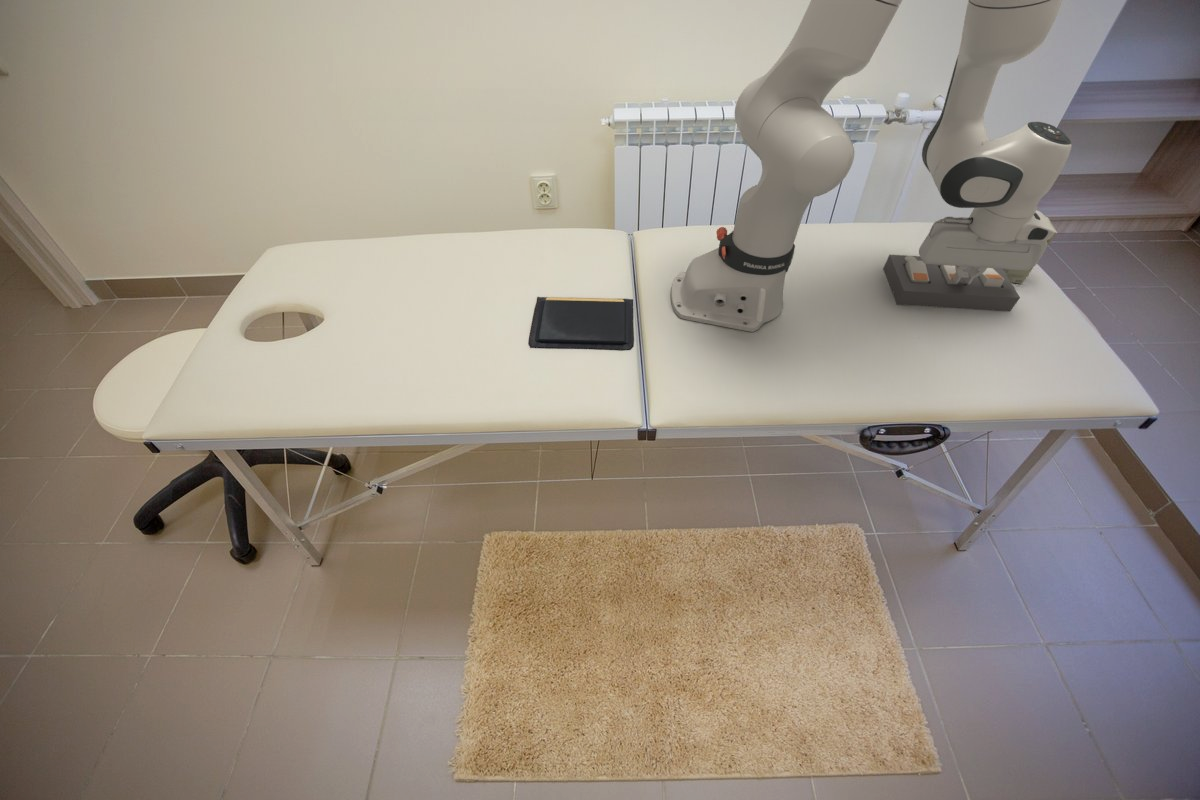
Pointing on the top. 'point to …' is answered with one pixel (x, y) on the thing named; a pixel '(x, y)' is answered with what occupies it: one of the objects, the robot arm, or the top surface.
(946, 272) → the rocker middle
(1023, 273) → the skincare box
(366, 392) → the top surface
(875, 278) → the top surface
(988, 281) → the rocker right
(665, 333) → the top surface
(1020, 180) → the robot arm
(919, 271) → the rocker left
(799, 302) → the top surface
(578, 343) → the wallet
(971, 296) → the switch panel
